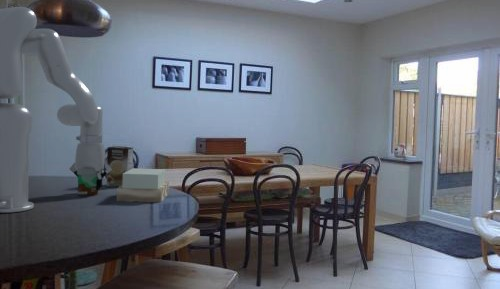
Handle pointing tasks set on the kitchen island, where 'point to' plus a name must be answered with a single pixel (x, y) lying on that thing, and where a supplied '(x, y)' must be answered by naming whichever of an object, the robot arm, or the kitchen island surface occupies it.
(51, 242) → the kitchen island surface
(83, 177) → the food container
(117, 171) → the coffee box
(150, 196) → the tower base slab
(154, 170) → the tower top slab
